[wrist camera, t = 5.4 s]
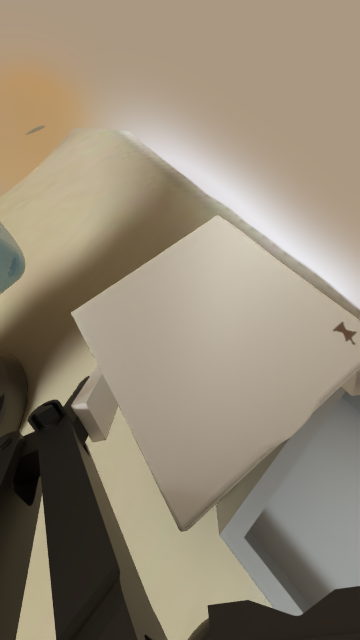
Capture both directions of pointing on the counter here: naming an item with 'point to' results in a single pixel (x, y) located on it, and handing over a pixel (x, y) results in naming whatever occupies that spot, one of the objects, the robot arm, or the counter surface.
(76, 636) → the robot arm
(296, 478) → the tray
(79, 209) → the counter surface
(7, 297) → the counter surface
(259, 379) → the supplement box
